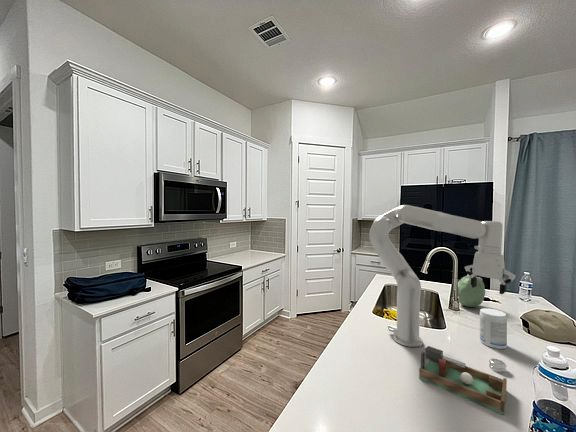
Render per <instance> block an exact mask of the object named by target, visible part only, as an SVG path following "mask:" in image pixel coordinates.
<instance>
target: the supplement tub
mask: <svg viewBox="0 0 576 432" xmlns="http://www.w3.org/2000/svg"><path fill="white" fill-rule="evenodd" d="M479 340H480V342H481V343H482V344H483V345H485V346H487V347H489V348H493V349H496V350H497V349H498V350H503V349H506V348H507V347H508V318H507V314H506V313H505V312H504V311H501V310H497V309H494V308H484V307H483V308H480V309H479Z"/></svg>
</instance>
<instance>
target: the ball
mask: <svg viewBox="0 0 576 432" xmlns="http://www.w3.org/2000/svg"><path fill="white" fill-rule="evenodd" d="M460 377H461V380H462V382H463V383H465V384H467V385H471V384H472V383H473V377H472V376H471V375H470V374H469V373H467V372H463V373H462V374H461V376H460Z"/></svg>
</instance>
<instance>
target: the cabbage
mask: <svg viewBox="0 0 576 432" xmlns="http://www.w3.org/2000/svg"><path fill="white" fill-rule="evenodd" d="M466 274H467V273H466ZM476 278H477V286H476V287H474V288H473V287H472V285H471V278H470V276H469V275H468V274H467V275H465V276H463V277H460V279H457V280H458V296H459V302H458V303H459V304H461V305H463V306H465V307H467V308H475V307H478V306H480V305H482V303H483V302H484V299H485V297H486V289H485V287H486V286H485V283H484V281H483V278H482V277H481V276H478V275H477V276H476Z"/></svg>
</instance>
